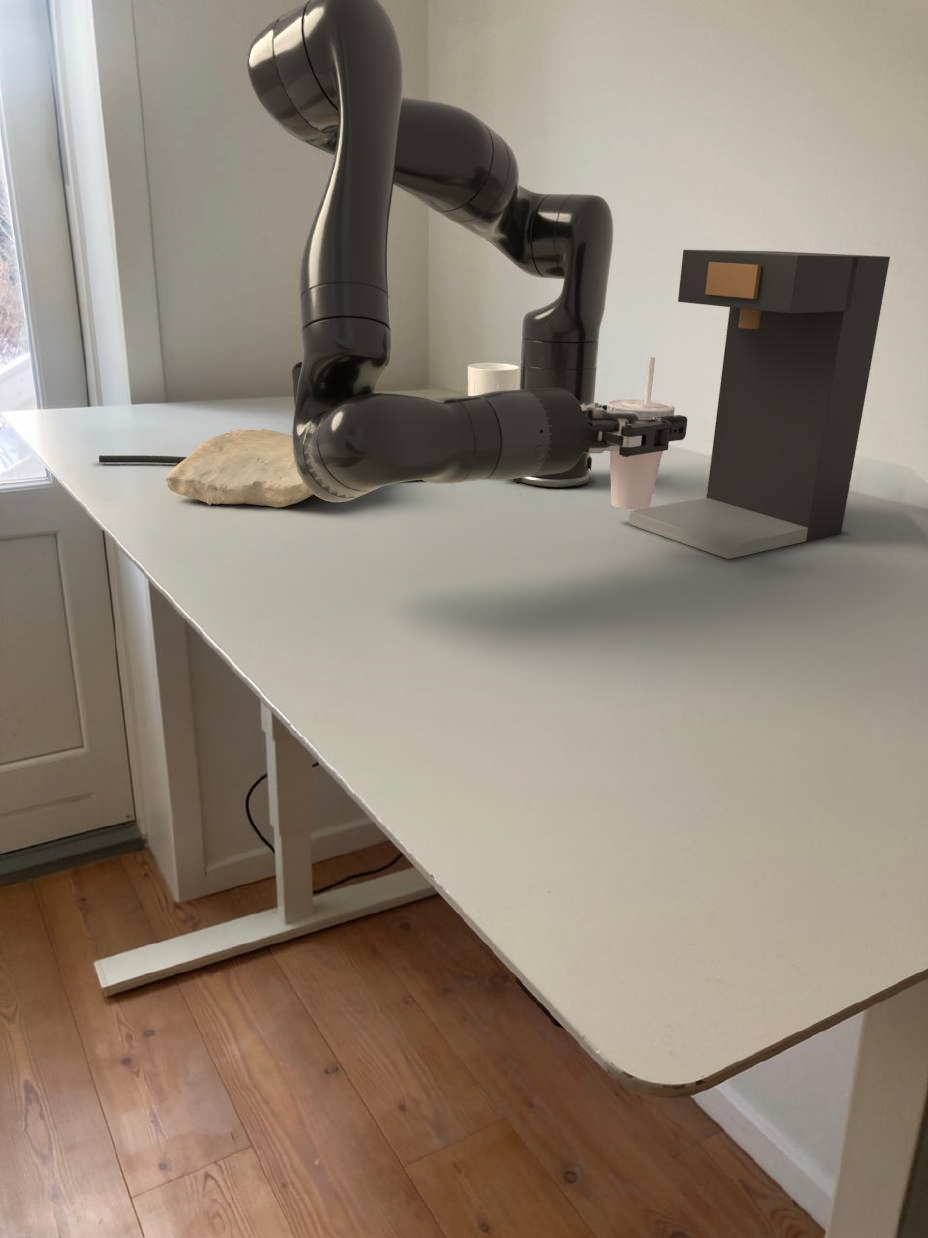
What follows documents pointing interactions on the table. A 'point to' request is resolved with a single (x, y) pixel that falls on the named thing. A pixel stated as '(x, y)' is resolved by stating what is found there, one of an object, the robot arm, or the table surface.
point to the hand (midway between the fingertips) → (656, 420)
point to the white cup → (492, 378)
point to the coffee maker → (779, 396)
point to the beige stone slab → (241, 470)
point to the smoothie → (638, 471)
